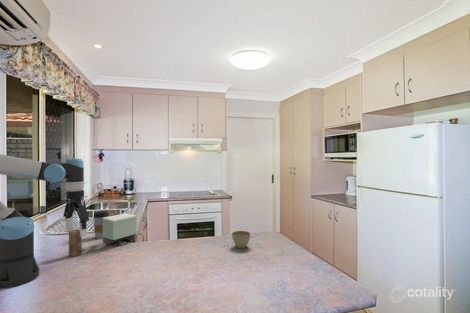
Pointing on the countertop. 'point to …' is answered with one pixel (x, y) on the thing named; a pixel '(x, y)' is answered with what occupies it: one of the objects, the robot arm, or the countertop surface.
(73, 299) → the countertop surface
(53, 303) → the countertop surface
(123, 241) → the token
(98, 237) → the coffee cup
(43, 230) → the countertop surface
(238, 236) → the flower pot
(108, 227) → the pale green box
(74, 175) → the robot arm
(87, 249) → the brown angled piece
